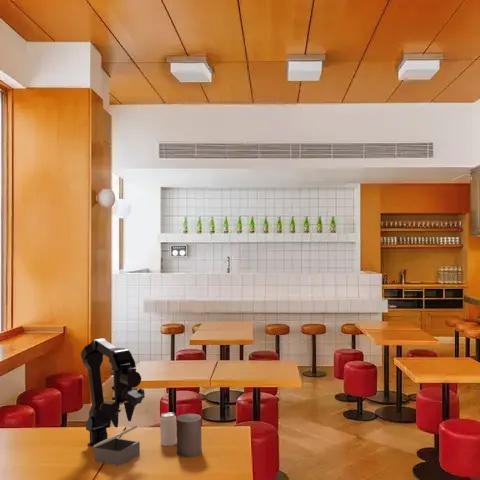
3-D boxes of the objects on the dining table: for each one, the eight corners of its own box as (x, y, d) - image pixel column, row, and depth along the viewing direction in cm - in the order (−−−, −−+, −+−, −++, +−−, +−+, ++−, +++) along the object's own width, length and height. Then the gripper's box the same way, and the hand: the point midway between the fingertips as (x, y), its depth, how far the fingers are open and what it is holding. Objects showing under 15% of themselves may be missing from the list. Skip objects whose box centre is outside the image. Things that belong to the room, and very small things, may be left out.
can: (174, 447, 229) (173, 417, 229) (158, 446, 230) (157, 416, 230) (178, 441, 235) (178, 412, 235) (163, 440, 236) (163, 411, 236)
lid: (94, 447, 216) (93, 445, 216) (114, 437, 227) (114, 434, 227) (117, 437, 211) (116, 435, 212) (137, 427, 222) (136, 425, 222)
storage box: (94, 461, 216) (94, 447, 216) (115, 450, 227) (114, 437, 227) (120, 465, 211) (119, 452, 211) (139, 454, 222) (139, 441, 222)
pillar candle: (171, 453, 222) (170, 414, 222) (190, 446, 229) (189, 408, 229) (188, 459, 215) (187, 420, 215) (207, 452, 222) (206, 413, 222)
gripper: (123, 390, 206) (124, 434, 206) (153, 378, 223) (154, 419, 222) (98, 388, 211) (100, 430, 211) (130, 376, 228) (131, 416, 227)
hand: (123, 424), depth 218 cm, fingers open, 8 cm apart
